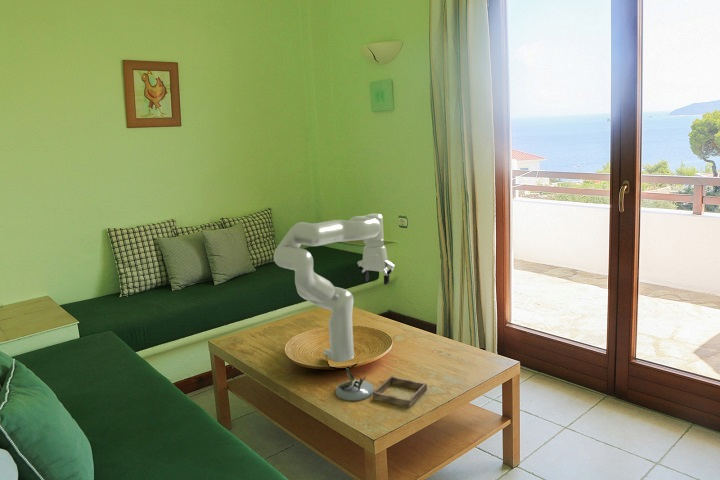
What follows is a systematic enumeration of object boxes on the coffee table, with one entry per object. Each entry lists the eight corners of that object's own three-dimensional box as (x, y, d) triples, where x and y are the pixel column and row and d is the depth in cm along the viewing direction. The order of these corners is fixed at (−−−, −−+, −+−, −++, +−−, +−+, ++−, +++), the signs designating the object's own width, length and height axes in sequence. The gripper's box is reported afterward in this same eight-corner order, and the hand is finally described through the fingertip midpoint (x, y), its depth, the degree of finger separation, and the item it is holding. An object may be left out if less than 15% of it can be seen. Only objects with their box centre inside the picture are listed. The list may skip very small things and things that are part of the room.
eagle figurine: (368, 381, 217) (348, 372, 221) (364, 371, 212) (343, 362, 216) (357, 398, 213) (337, 389, 217) (353, 389, 208) (332, 379, 212)
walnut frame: (372, 398, 208) (372, 392, 208) (391, 382, 220) (390, 375, 220) (410, 407, 201) (409, 401, 201) (426, 389, 213) (426, 383, 212)
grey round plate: (328, 395, 212) (328, 393, 212) (348, 379, 224) (348, 377, 224) (361, 404, 205) (361, 401, 205) (380, 387, 217) (380, 384, 217)
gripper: (352, 243, 246) (354, 282, 250) (389, 247, 237) (390, 287, 241) (361, 239, 252) (363, 277, 256) (397, 242, 243) (398, 282, 247)
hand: (376, 282), depth 248 cm, fingers open, 9 cm apart
